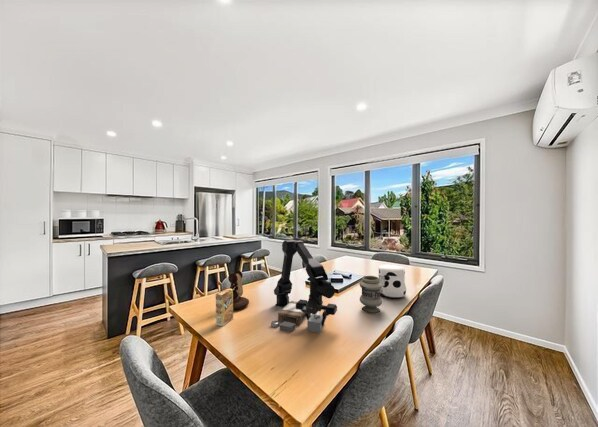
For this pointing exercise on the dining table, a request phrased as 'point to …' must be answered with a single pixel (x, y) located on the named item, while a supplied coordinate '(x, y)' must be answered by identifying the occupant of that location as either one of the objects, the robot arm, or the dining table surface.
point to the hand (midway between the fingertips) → (316, 324)
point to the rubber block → (287, 326)
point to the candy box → (224, 307)
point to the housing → (315, 323)
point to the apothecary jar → (371, 294)
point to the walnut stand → (291, 312)
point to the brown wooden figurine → (237, 290)
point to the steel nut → (275, 324)
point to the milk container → (392, 281)
